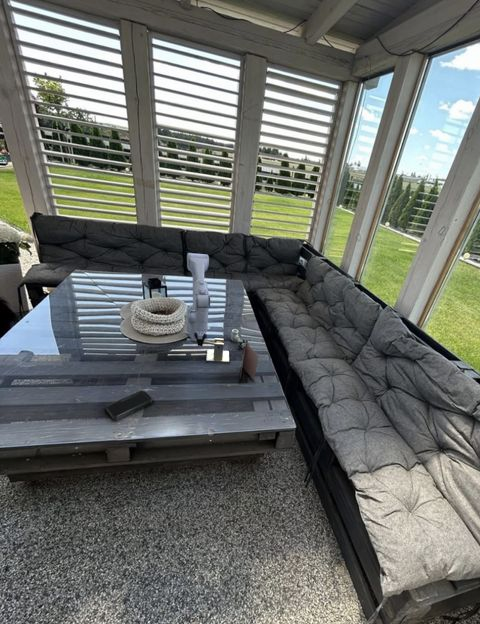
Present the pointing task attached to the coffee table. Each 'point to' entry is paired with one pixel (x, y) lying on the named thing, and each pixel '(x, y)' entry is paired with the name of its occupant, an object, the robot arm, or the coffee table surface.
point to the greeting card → (249, 361)
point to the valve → (238, 339)
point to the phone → (128, 405)
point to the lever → (212, 342)
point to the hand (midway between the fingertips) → (200, 343)
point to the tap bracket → (218, 352)
